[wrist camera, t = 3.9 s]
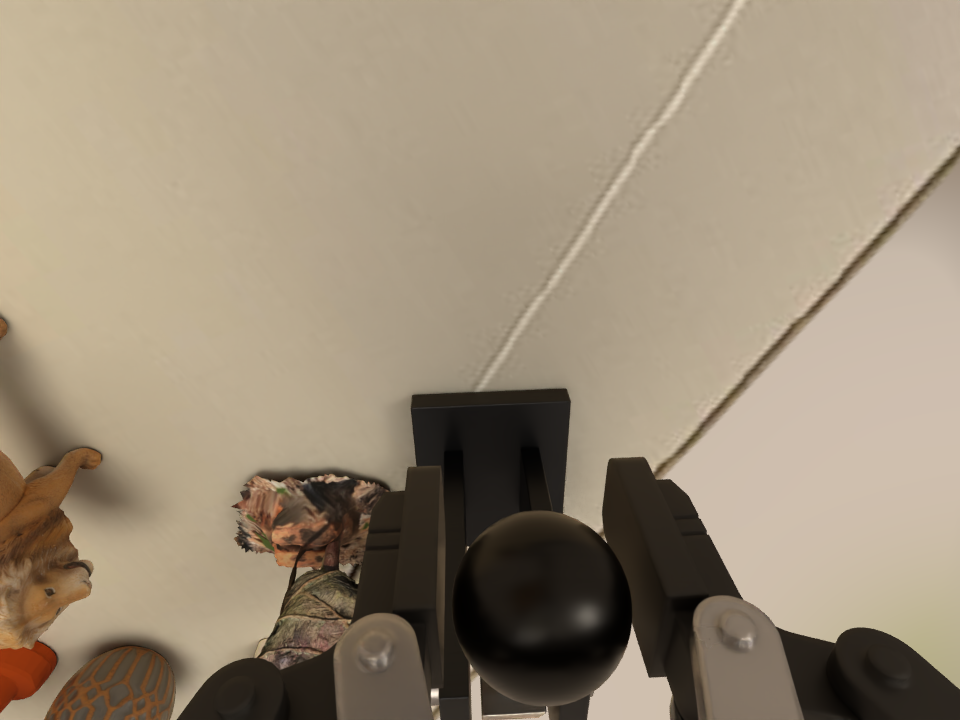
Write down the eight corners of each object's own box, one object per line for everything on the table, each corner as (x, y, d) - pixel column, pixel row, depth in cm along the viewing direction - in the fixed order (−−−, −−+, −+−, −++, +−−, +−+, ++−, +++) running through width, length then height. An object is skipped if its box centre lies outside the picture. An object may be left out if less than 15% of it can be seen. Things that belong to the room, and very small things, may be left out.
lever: (446, 487, 10) (449, 705, 8) (629, 479, 10) (676, 692, 8) (466, 639, 23) (469, 734, 21) (544, 636, 23) (553, 729, 21)
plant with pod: (397, 587, 36) (344, 1101, 18) (220, 535, 33) (-42, 1088, 15) (452, 503, 32) (453, 1036, 15) (260, 436, 29) (-18, 1005, 12)
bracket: (412, 394, 28) (382, 649, 16) (566, 388, 29) (648, 634, 17) (425, 533, 33) (410, 806, 21) (557, 526, 34) (615, 793, 22)
